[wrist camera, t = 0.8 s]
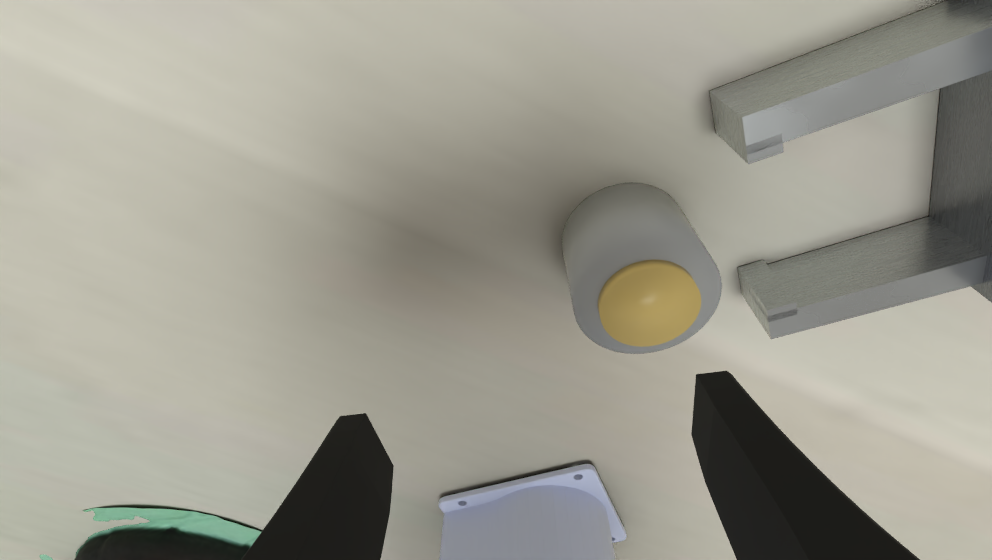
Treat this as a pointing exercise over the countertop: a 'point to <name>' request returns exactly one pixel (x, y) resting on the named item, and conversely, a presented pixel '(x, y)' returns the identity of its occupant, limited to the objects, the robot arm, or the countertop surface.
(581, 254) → the grey round piece
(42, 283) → the countertop surface
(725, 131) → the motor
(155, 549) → the dark brimmed hat
